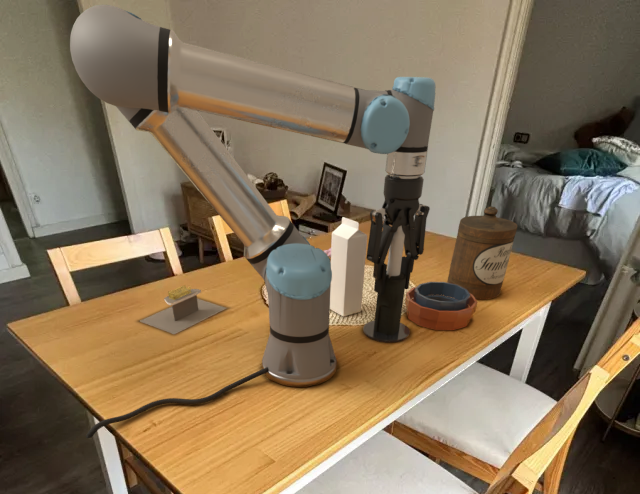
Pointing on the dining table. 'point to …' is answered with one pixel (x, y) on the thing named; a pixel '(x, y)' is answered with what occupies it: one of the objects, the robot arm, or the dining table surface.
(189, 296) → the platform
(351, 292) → the milk
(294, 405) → the dining table surface
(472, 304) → the stacked bowls
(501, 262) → the wooden container
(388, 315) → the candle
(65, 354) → the dining table surface
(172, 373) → the dining table surface
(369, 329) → the slate coaster
